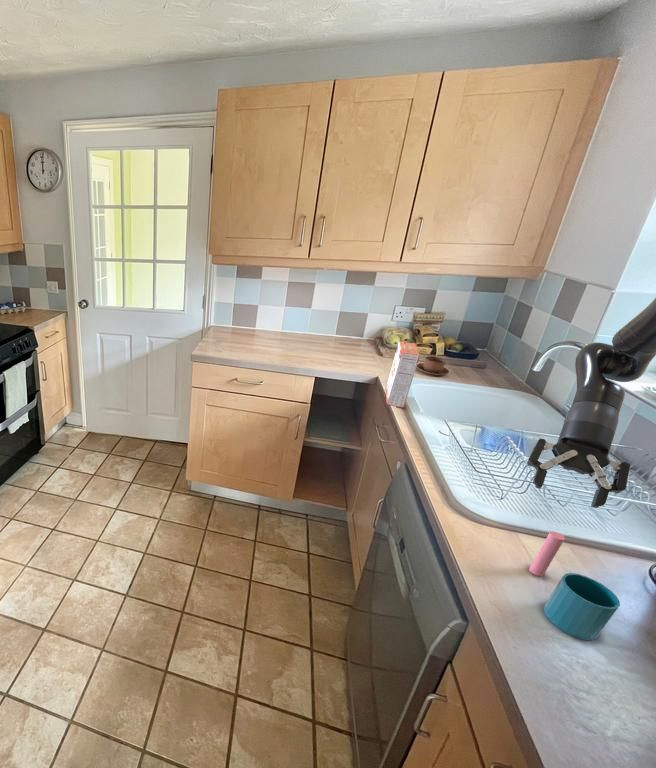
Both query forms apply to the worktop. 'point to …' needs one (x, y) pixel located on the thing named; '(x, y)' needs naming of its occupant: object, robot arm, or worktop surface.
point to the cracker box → (401, 374)
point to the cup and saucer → (433, 366)
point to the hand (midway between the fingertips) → (566, 496)
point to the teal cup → (581, 606)
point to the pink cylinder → (546, 553)
